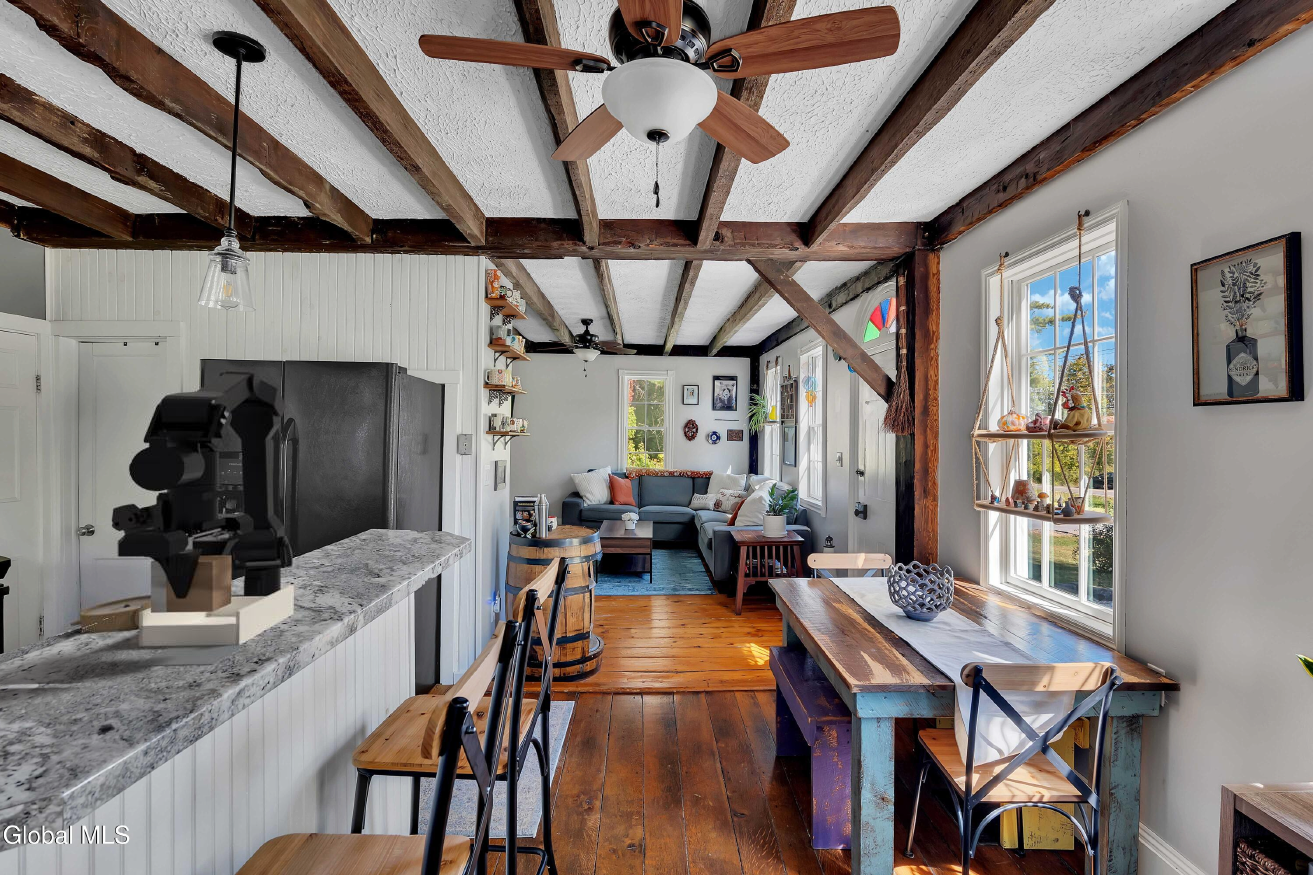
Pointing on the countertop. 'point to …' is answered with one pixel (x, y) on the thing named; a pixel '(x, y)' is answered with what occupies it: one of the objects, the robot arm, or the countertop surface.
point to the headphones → (120, 609)
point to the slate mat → (190, 655)
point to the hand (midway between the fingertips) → (192, 593)
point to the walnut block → (194, 587)
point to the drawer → (216, 622)
